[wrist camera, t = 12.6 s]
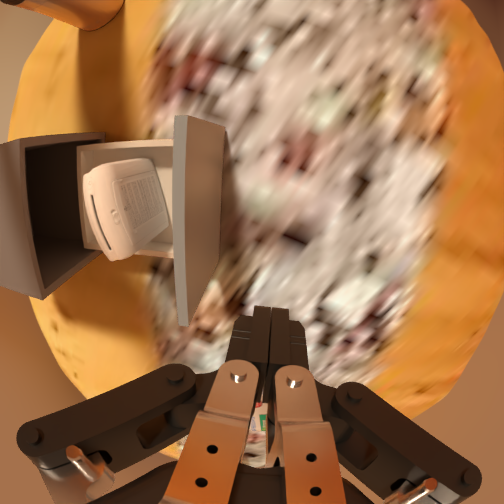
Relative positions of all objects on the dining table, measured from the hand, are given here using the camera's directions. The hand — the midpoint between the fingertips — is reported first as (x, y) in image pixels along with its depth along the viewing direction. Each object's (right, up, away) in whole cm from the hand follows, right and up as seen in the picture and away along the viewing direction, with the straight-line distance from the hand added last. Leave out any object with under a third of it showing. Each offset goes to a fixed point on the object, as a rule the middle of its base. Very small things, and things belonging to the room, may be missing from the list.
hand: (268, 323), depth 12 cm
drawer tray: (-14, +11, +24) cm, 30 cm away
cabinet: (-32, +13, +25) cm, 43 cm away
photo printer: (-14, +11, +22) cm, 28 cm away
